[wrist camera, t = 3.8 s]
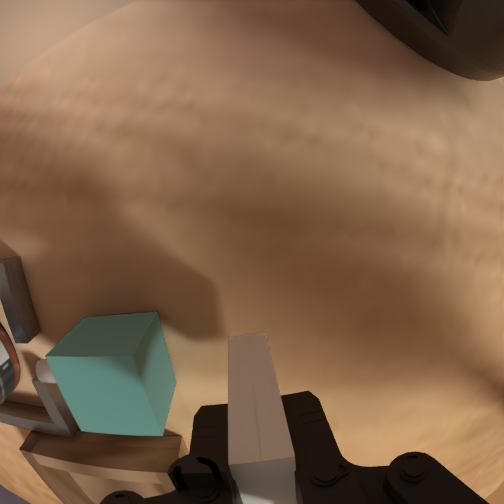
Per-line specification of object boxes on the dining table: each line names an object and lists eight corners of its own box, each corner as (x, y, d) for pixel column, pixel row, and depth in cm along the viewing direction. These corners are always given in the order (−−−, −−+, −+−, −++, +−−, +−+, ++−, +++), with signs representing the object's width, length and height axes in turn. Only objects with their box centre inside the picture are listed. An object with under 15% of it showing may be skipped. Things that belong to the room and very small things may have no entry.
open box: (181, 436, 15) (175, 472, 12) (218, 517, 18) (218, 545, 15) (36, 423, 15) (19, 449, 12) (98, 507, 17) (90, 530, 15)
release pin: (157, 311, 13) (132, 355, 10) (176, 382, 14) (162, 436, 10) (47, 319, 13) (6, 353, 9) (71, 382, 14) (41, 424, 10)
